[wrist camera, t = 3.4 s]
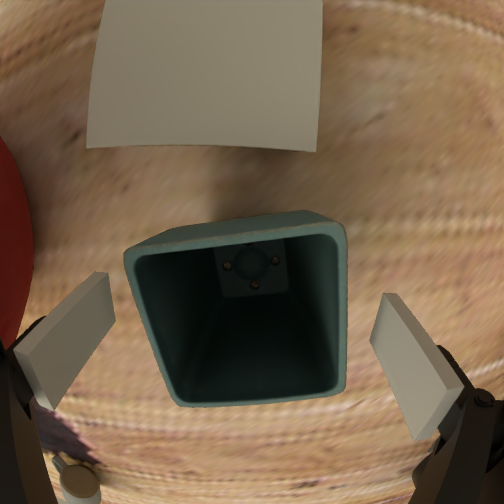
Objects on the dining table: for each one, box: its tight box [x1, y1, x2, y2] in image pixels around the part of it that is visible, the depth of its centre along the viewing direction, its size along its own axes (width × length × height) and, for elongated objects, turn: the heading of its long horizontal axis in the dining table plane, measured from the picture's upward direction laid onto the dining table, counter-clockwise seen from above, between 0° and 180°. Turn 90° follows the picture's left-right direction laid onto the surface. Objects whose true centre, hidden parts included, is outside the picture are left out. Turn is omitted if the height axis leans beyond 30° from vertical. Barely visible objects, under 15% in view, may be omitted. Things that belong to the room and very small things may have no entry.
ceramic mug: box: [51, 455, 101, 504], centre depth 31 cm, size 11×8×8 cm
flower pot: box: [124, 210, 348, 408], centre depth 16 cm, size 9×9×9 cm
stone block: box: [86, 0, 323, 152], centre depth 13 cm, size 11×11×6 cm
